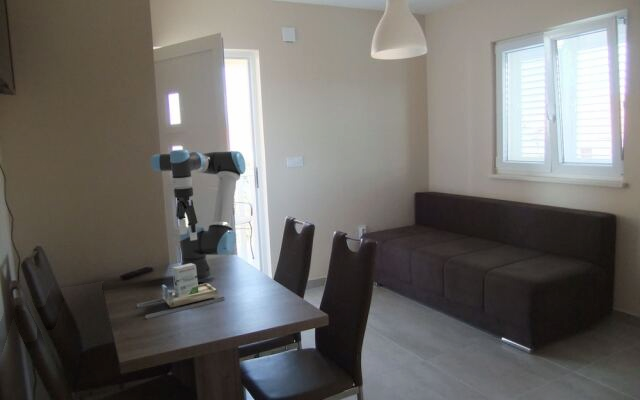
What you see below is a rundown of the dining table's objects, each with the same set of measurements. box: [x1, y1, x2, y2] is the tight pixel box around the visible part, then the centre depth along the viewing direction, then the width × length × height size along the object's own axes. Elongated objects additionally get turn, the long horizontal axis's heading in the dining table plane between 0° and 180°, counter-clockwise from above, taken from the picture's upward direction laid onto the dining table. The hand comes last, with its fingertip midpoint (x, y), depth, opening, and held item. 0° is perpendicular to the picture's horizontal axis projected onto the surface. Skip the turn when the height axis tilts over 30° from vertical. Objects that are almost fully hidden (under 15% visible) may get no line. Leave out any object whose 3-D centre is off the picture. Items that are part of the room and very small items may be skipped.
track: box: [136, 296, 225, 319], centre depth 188 cm, size 16×31×1 cm, turn 123°
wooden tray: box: [161, 282, 219, 309], centre depth 190 cm, size 12×19×7 cm, turn 123°
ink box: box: [171, 263, 199, 297], centre depth 189 cm, size 9×5×12 cm, turn 131°
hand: (188, 236), depth 195 cm, fingers open, 13 cm apart
